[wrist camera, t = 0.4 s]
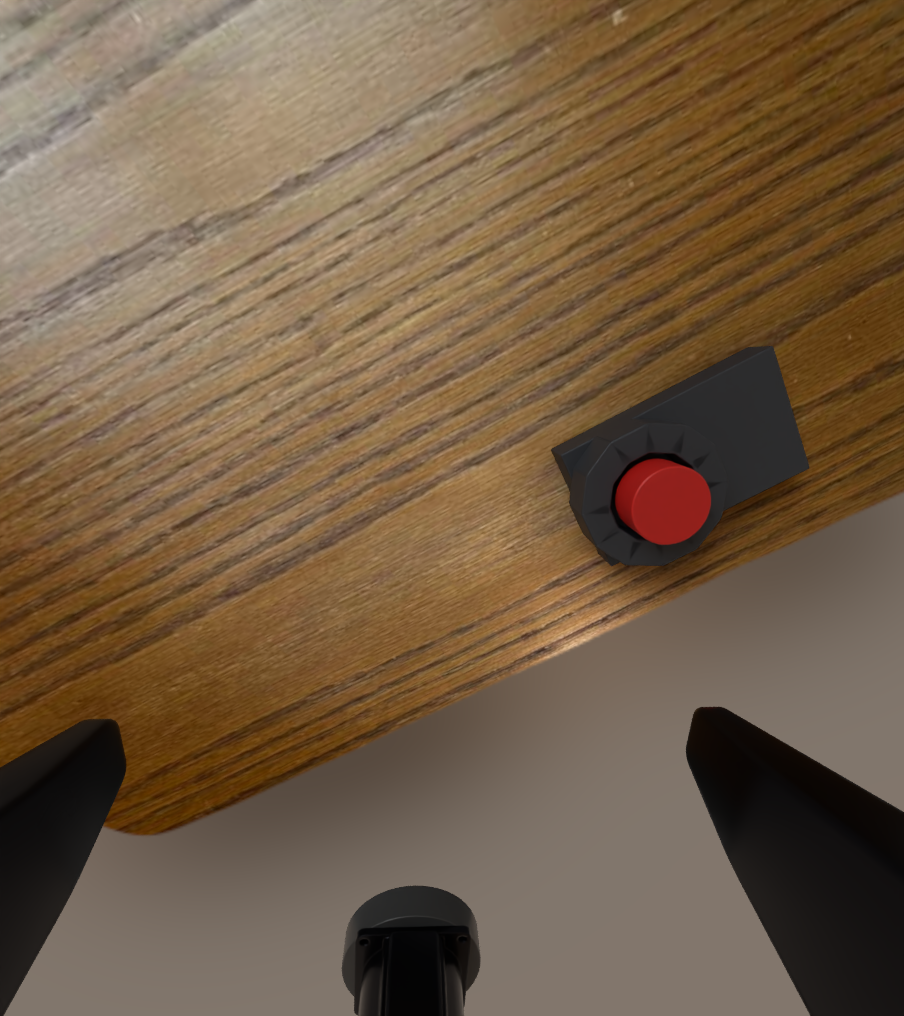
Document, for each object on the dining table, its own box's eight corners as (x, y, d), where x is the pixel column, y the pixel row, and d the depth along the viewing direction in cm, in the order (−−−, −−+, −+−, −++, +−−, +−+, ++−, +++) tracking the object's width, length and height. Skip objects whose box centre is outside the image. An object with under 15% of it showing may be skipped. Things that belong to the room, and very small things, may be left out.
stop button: (630, 544, 21) (648, 559, 20) (603, 480, 21) (619, 490, 19) (698, 510, 21) (722, 522, 20) (673, 444, 20) (696, 451, 19)
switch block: (589, 559, 25) (615, 589, 22) (539, 453, 23) (560, 467, 20) (784, 462, 24) (843, 477, 21) (747, 345, 23) (805, 342, 19)
